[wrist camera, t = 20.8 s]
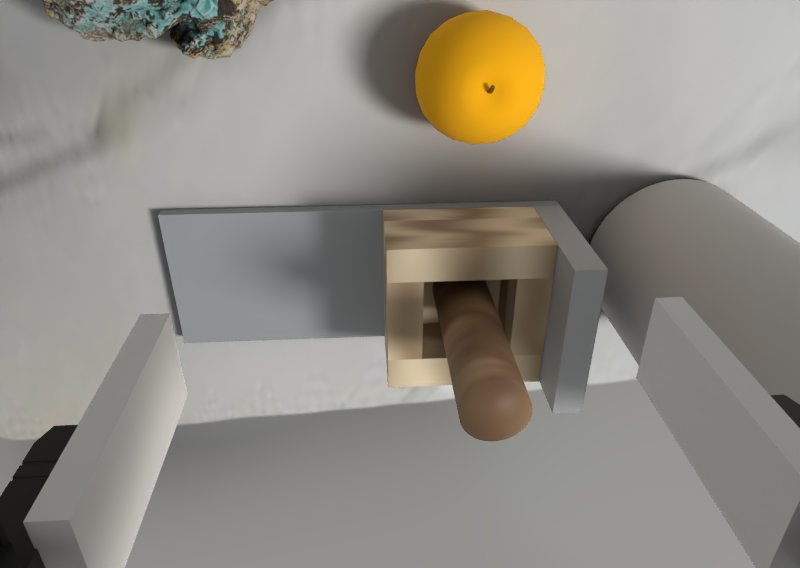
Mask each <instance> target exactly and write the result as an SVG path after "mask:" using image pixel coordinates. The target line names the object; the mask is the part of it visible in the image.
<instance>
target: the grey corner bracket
mask: <svg viewBox="0 0 800 568" xmlns="http://www.w3.org/2000/svg"><path fill="white" fill-rule="evenodd" d="M528 206H533V207H534V209H535V210H536V212H537V213H538V215H539V216H540V218H541V219H542V221H543V223H544V224H545V226H546V227H547V229H548V230H549V232H550V233H551V235H552V236H553V238H554V240H555V241H556V243H557V244H558V250H557V257H556V264H555V271H554V279H553V286H552V293H551V300H550V308H549V315H548V322H547V329H546V336H545V344H544V351H543V358H542V365H541V372H540V380H539V381H540V383H541V386H542V388H543V391H544V393H545V395H546V398H547V401H548V403H549V405H550V408H551V410H552V413H570V412H581V411H582V407H583V402H584V396H585V391H586V386H587V380H588V375H589V370H590V364H591V359H592V354H593V348H594V343H595V337H596V332H597V327H598V321H599V316H600V311H601V305H602V300H603V295H604V289H605V284H606V279H607V273H608V269H607V267H606V266H605V265H604V263H603V262H602V261H601V259H600V258H599V257H598V255H597V254H596V253H595V251H594V250H593V249H592V247H591V246H590V245H589V243H588V242H587V241H586V239H585V238H584V237H583V235H582V234H581V233H580V231H579V230H578V229H577V227H576V226H575V225H574V223H573V222H572V221H571V219H570V218H569V217H568V215H567V214H566V213H565V211H564V210H563V209H562V207H561V206H560V205H559V203H558V202H557V201H556V200H550V201H508V202H466V203H424V204H382V205H339V206H297V207H255V208H213V209H171V210H161V211H160V213H159V214H158V219H159V223H160V228H161V233H162V238H163V243H164V247H165V252H166V257H167V262H168V267H169V271H170V276H171V281H172V286H173V291H174V295H175V300H176V305H177V310H178V315H179V319H180V324H181V329H182V334H183V339H184V343H195V342H224V341H252V340H281V339H310V338H338V337H367V336H385V321H384V256H383V210H404V209H445V208H486V207H528Z"/></svg>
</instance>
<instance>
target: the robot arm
mask: <svg viewBox="0 0 800 568" xmlns="http://www.w3.org/2000/svg"><path fill="white" fill-rule="evenodd" d="M636 378H637V379H638V381H639V383H640V384H641V386H642V387H643V389H644V390H645V392H646V394H647V395H648V397H649V398H650V400H651V402H652V403H653V405H654V406H655V408H656V409H657V411H658V413H659V414H660V416H661V417H662V419H663V421H664V422H665V424H666V425H667V427H668V429H669V430H670V432H671V433H672V435H673V437H674V438H675V440H676V441H677V443H678V444H679V446H680V447H681V449H682V451H683V452H684V454H685V455H686V457H687V459H688V460H689V462H690V464H691V465H692V466H693V468H694V470H695V471H696V473H697V475H698V476H699V477H700V479H701V481H702V483H703V484H704V486H705V487H706V489H707V490H708V492H709V494H710V495H711V497H712V498H713V500H714V502H715V503H716V505H717V506H718V508H719V510H720V511H721V513H722V514H723V516H724V518H725V519H726V521H727V522H728V524H729V526H730V527H731V529H732V530H733V531H734V533H735V535H736V537H737V538H738V540H739V541H740V543H741V545H742V546H743V547H744V549H745V551H746V553H747V554H748V556H749V557H750V559H751V560H752V562H753V564H754V565H755V567H756V568H800V404H798V403H797V402H795V401H793V400H792V399H790V398H789V397H787V396H786V395H784V394H782V395H769V393H768V392H767V391H766V390H765V389H764V388H763V387H762V386H761V385H760V383H759V382H758V381H757V380H756V379H755V378H754V377H753V376H752V374H751V373H750V372H749V371H748V370H747V369H746V368H745V367H744V366H743V364H742V363H741V362H740V361H739V360H738V359H737V358H736V357H735V355H734V354H733V353H732V352H731V351H730V350H729V349H728V348H727V347H726V345H725V344H724V343H723V342H722V341H721V340H720V339H719V338H718V336H717V335H716V334H715V333H714V332H713V331H712V330H711V329H710V328H709V326H708V325H707V324H706V323H705V322H704V321H703V320H702V319H701V317H700V316H699V315H698V314H697V313H696V312H695V311H694V310H693V308H692V307H691V306H690V305H689V304H688V303H687V302H686V301H685V300H684V298H683V297H665V298H655V300H654V305H653V309H652V313H651V317H650V322H649V326H648V330H647V334H646V339H645V343H644V347H643V351H642V356H641V360H640V364H639V368H638V373H637V377H636ZM187 396H188V394H187V389H186V385H185V380H184V375H183V371H182V366H181V362H180V357H179V352H178V348H177V343H176V338H175V334H174V329H173V325H172V320H171V315H170V314H141V315H140V316H139V318H138V320H137V322H136V323H135V325H134V327H133V329H132V331H131V332H130V334H129V336H128V338H127V339H126V341H125V343H124V345H123V346H122V348H121V350H120V352H119V353H118V355H117V357H116V359H115V361H114V362H113V364H112V366H111V368H110V369H109V371H108V373H107V375H106V376H105V378H104V380H103V382H102V384H101V385H100V387H99V389H98V391H97V392H96V394H95V396H94V398H93V399H92V401H91V403H90V405H89V406H88V408H87V410H86V412H85V414H84V415H83V417H82V419H81V421H80V422H79V424H78V425H65V426H54V427H52V428H51V429H50V430H49V431H48V432H47V433H45V434H44V435H43V436H42V437H41V438H40V439H38V440H37V441H36V442H35V443H34V444H33V446H32V448H31V449H30V451H29V452H28V454H27V455H26V457H25V459H24V460H23V463H22V466H19V468H18V469H17V471H16V473H15V474H14V476H13V480H12V481H10V482H9V484H8V486H7V487H6V488H5V490H4V492H3V493H2V495H1V496H0V568H125V566H126V563H127V560H128V557H129V555H130V552H131V549H132V546H133V544H134V541H135V538H136V536H137V533H138V530H139V527H140V525H141V522H142V519H143V516H144V514H145V511H146V508H147V505H148V503H149V500H150V497H151V494H152V492H153V489H154V486H155V483H156V481H157V478H158V475H159V473H160V470H161V467H162V464H163V462H164V459H165V456H166V453H167V451H168V448H169V445H170V442H171V440H172V437H173V434H174V431H175V429H176V426H177V423H178V421H179V418H180V415H181V412H182V410H183V407H184V404H185V401H186V399H187Z"/></svg>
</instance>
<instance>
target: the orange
mask: <svg viewBox="0 0 800 568" xmlns="http://www.w3.org/2000/svg"><path fill="white" fill-rule="evenodd" d="M544 80H545V65H544V61H543V57H542V53H541V49H540V46H539V44H538V43H537V41H536V40H535V39H534V37H533V36H532V35H531V33H530V32H529V30H528V29H527V28H526V27H524V26H523V25H521V24H520V23H518V22H517V21H516V20H514V19H513V18H511V17H509V16H506V15H502V14H499V13H495V12H492V11H488V10H484V11H474V12H465V13H463V14H460V15H458V16H456V17H453V18H451V19H449V20H447V21H445V22H444V23H443V24H442V25H441V26H439V27H438V28H437V29H436V30H435V31H434V32H432V33H431V34H430V36H429V38H428V39H427V41H426V43H425V45H424V46H423V48H422V50H421V51H420V54H419V58H418V62H417V66H416V71H415V83H416V96H417V99H418V101H419V104H420V107H421V110H422V112H423V114H424V116H425V117H426V118H427V119H428V120H429V121H430V123H431V124H432V125H433V126H434V127H435V128H436V129H437V130H438V131H440V132H441V133H443V134H445V135H446V136H448V137H450V138H451V139H453V140H458V141H462V142H466V143H470V144H483V143H493V142H496V141H499V140H501V139H504V138H506V137H509V136H511V135H513V134H514V133H515V132H517V131H518V130H519V129H521V128H522V127H523V126H525V125H526V124H527V122H528V121H529V119H530V118H531V116H532V115H533V114H534V112H535V111H536V109H537V108H538V105H539V102H540V99H541V96H542V93H543V90H544Z"/></svg>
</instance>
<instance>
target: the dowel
mask: <svg viewBox="0 0 800 568" xmlns="http://www.w3.org/2000/svg"><path fill="white" fill-rule="evenodd" d="M432 291H433V296H434V301H435V306H436V310H437V315H438V320H439V325H440V329H441V334H442V339H443V343H444V348H445V353H446V357H447V362H448V367H449V371H450V376H451V381H452V385H453V390H454V395H455V399H456V404H457V409H458V414H459V418H460V423H461V425H462V427H463V429H464V430H465V431H466V432H467V433H468V434H469V435H471V436H472V437H474V438H476V439H479V440H484V441H499V440H503V439H507V438H510V437H512V436H514V435H516V434H517V433H518V432H520V431H521V430H522V429H523V428H524V427H525V426H526V425H527V424H528V422H529V420H530V418H531V415H532V404H531V401H530V398H529V395H528V393H527V390H526V387H525V385H524V382H523V379H522V377H521V374H520V371H519V369H518V366H517V363H516V360H515V358H514V355H513V352H512V350H511V347H510V344H509V342H508V339H507V336H506V334H505V331H504V328H503V326H502V323H501V320H500V318H499V315H498V312H497V310H496V307H495V304H494V302H493V299H492V296H491V294H490V291H489V288H488V286H487V283H486V280H471V281H438V282H433V286H432Z"/></svg>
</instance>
